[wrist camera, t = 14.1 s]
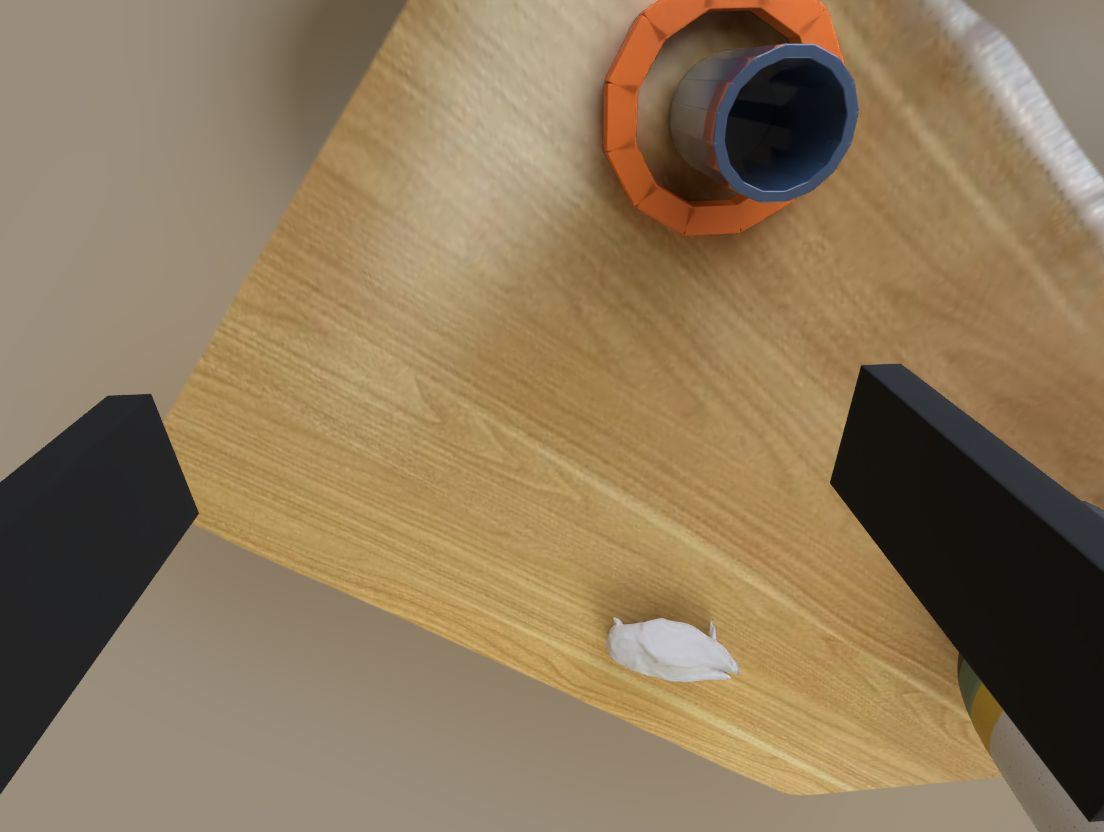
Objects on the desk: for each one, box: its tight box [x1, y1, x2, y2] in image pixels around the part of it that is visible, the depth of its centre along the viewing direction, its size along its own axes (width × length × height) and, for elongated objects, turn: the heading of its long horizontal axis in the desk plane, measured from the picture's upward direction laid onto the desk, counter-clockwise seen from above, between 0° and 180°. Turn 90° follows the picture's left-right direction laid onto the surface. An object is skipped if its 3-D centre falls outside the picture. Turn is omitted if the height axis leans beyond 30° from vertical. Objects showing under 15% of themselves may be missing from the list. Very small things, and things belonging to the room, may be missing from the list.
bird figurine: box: [606, 617, 742, 682], centre depth 51 cm, size 5×7×10 cm
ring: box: [603, 0, 845, 235], centre depth 32 cm, size 12×12×2 cm
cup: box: [669, 44, 859, 203], centre depth 29 cm, size 6×6×9 cm
